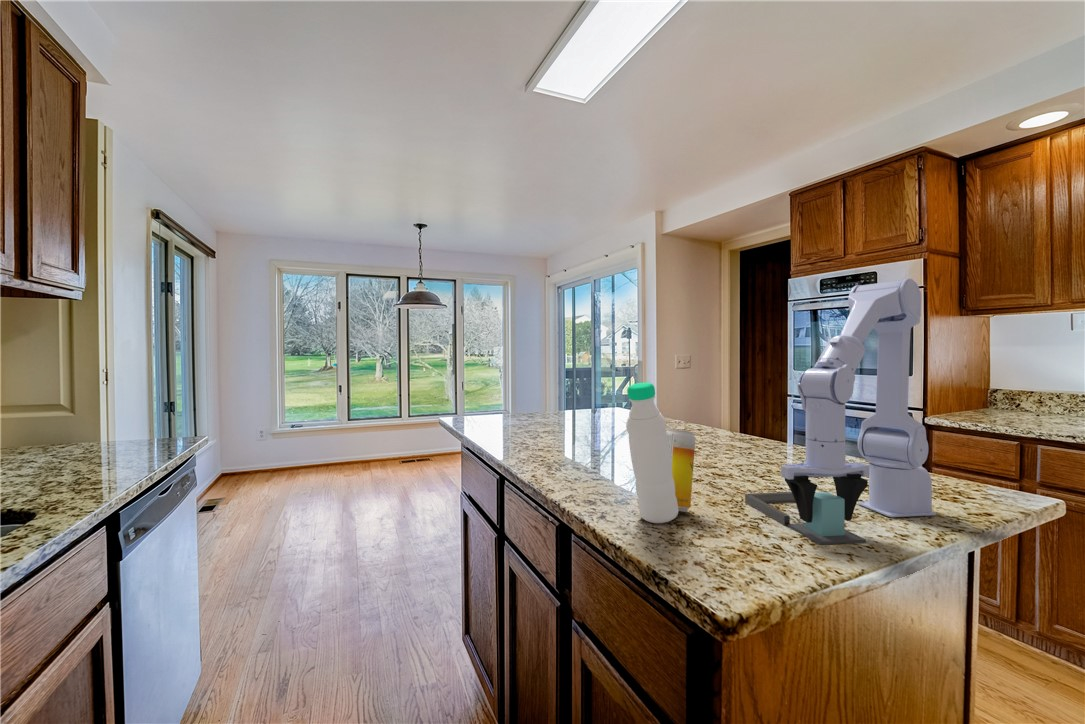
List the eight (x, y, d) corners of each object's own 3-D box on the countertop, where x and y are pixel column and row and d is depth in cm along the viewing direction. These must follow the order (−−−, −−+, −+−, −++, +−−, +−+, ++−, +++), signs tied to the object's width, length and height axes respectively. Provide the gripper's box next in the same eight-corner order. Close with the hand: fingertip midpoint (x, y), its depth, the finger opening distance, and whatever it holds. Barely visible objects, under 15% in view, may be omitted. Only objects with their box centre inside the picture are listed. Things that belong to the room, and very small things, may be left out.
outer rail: (805, 500, 96) (805, 491, 96) (855, 524, 83) (855, 512, 83) (743, 503, 95) (743, 493, 95) (784, 527, 81) (784, 516, 81)
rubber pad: (830, 524, 82) (830, 522, 82) (866, 542, 74) (866, 539, 74) (787, 526, 81) (788, 524, 81) (819, 544, 73) (819, 542, 73)
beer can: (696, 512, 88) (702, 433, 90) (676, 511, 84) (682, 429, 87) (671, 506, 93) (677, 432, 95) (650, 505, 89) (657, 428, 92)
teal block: (827, 526, 80) (827, 491, 80) (844, 535, 76) (844, 498, 76) (805, 527, 79) (805, 492, 79) (821, 536, 76) (821, 499, 75)
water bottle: (659, 501, 90) (641, 378, 86) (687, 514, 84) (669, 381, 80) (632, 515, 87) (612, 387, 83) (658, 529, 80) (638, 392, 77)
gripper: (847, 434, 82) (847, 510, 82) (770, 436, 81) (770, 513, 81) (879, 441, 75) (879, 524, 75) (796, 443, 74) (796, 528, 74)
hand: (825, 519), depth 78 cm, fingers open, 6 cm apart
